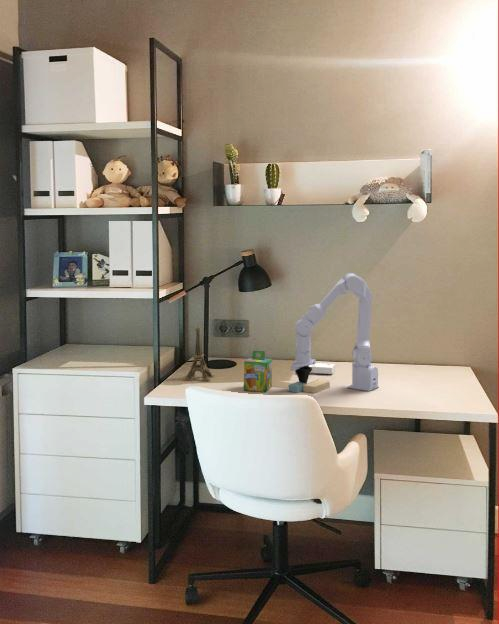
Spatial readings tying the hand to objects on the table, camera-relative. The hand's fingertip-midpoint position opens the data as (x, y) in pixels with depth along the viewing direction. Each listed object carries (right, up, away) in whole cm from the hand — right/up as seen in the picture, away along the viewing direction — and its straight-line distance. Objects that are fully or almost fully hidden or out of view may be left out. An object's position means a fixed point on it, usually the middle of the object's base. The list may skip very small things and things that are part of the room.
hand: (303, 385), depth 296 cm
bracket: (+8, +2, +26) cm, 28 cm away
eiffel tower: (-41, +1, +18) cm, 45 cm away
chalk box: (-17, -1, 0) cm, 17 cm away
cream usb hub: (+5, -1, -2) cm, 5 cm away
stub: (-2, -2, -3) cm, 4 cm away
